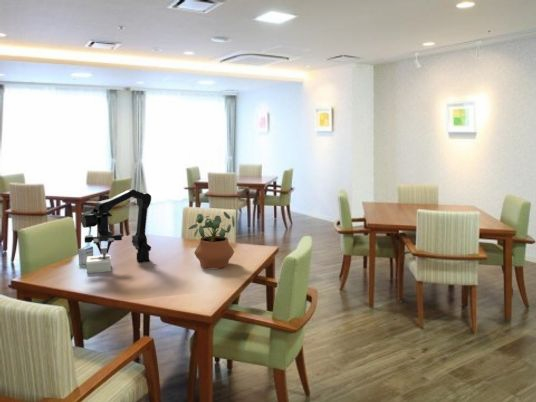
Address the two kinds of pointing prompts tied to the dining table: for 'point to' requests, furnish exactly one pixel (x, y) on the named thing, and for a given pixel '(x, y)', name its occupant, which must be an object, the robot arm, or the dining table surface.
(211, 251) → the potted plant
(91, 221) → the robot arm
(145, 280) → the dining table surface
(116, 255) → the dining table surface
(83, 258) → the medicine box
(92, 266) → the keyhole plate
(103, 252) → the peg
